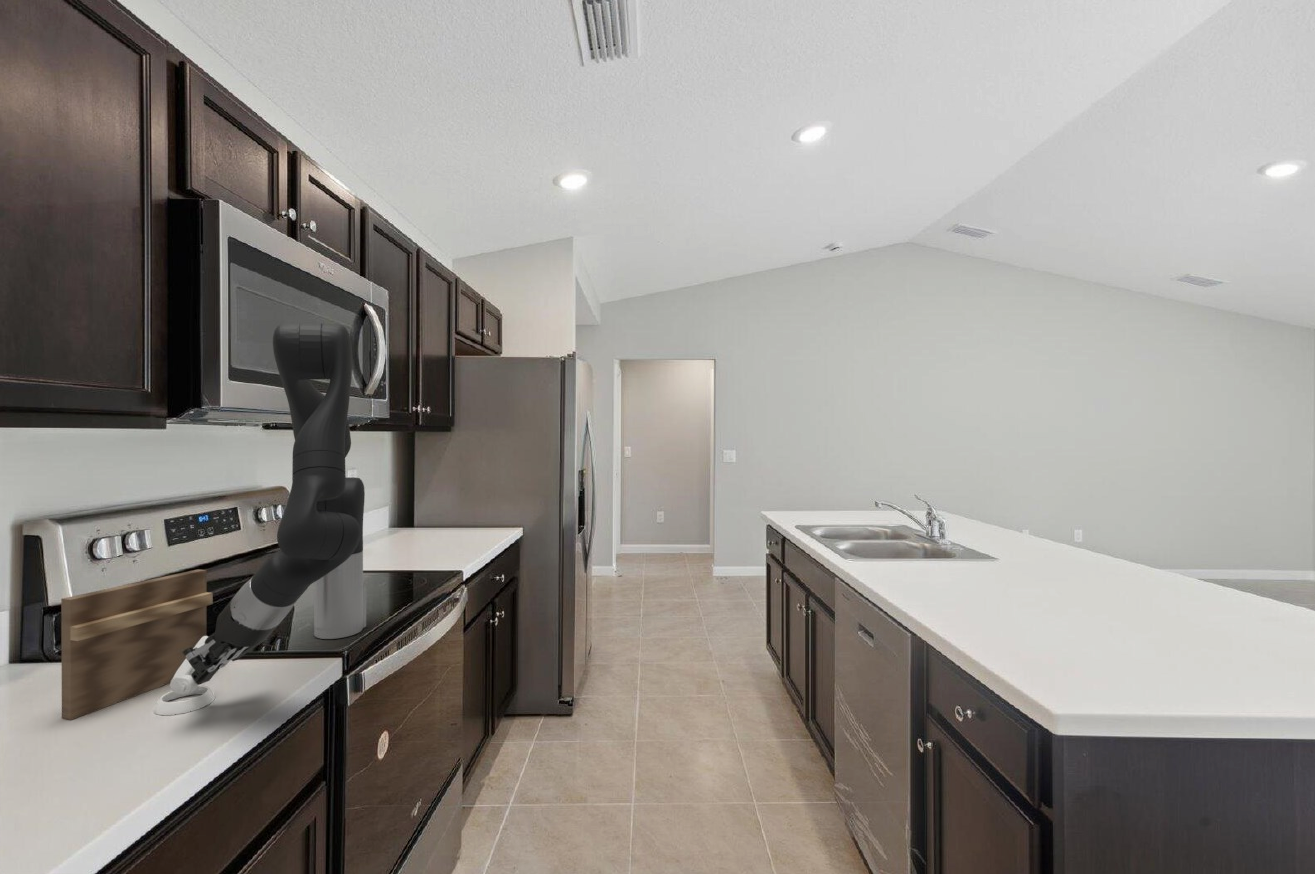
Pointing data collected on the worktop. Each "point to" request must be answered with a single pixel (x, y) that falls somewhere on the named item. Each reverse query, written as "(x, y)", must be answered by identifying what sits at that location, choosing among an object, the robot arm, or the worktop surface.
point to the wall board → (128, 639)
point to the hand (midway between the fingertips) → (199, 678)
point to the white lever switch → (184, 691)
